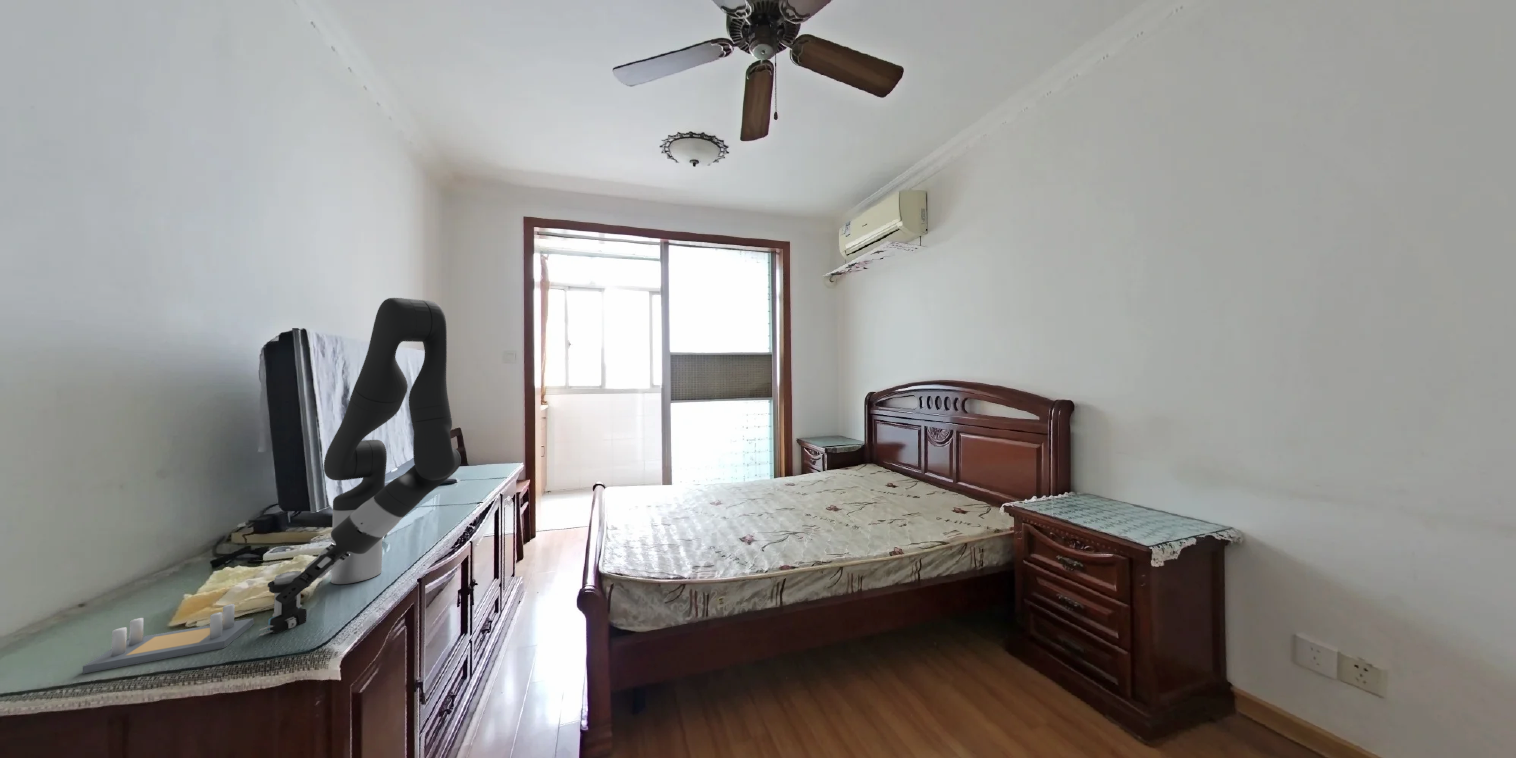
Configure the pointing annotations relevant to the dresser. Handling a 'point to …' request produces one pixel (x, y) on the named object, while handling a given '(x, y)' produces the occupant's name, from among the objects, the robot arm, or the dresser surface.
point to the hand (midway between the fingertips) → (291, 592)
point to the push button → (289, 612)
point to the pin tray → (168, 641)
